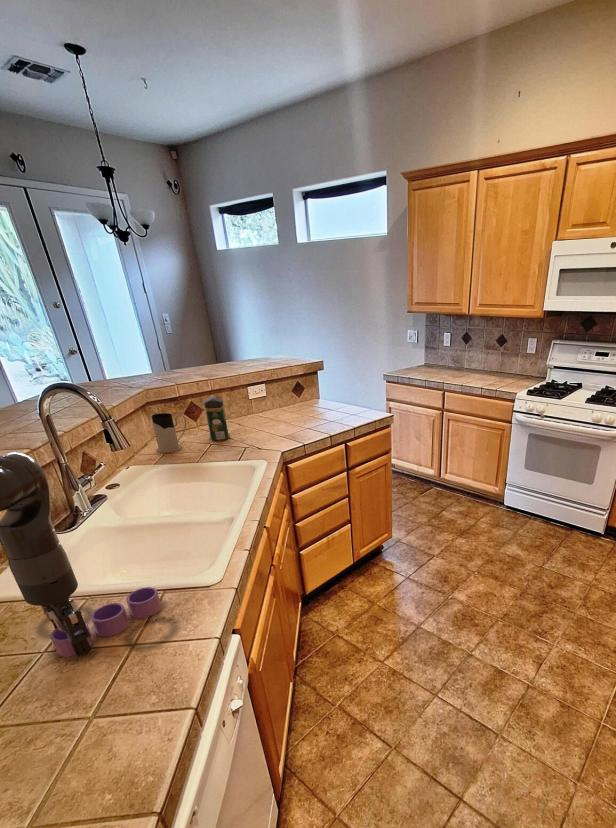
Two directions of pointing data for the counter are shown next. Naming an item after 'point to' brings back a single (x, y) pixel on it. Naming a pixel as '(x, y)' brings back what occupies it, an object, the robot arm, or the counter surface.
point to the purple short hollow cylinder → (66, 642)
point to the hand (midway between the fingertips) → (74, 643)
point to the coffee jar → (216, 418)
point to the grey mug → (166, 432)
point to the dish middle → (110, 619)
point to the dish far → (143, 602)
